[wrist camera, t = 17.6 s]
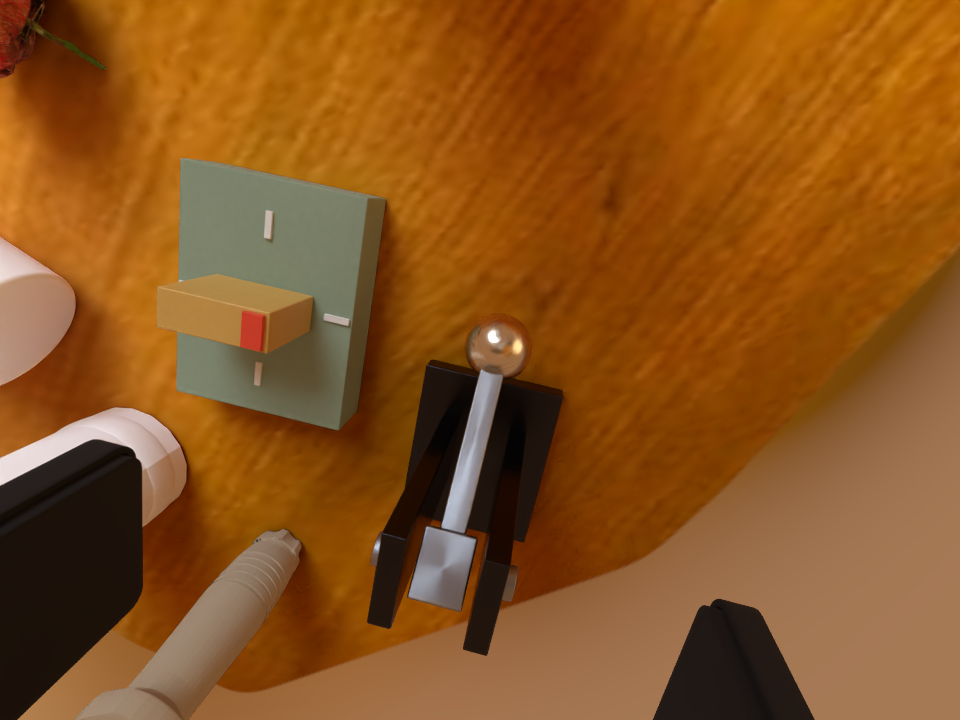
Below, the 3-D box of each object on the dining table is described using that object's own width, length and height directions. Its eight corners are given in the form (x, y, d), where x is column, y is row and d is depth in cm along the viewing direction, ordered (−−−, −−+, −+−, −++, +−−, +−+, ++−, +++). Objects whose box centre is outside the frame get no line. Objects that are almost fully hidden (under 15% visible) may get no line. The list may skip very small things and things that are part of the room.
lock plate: (216, 161, 29) (178, 157, 26) (386, 198, 29) (366, 197, 26) (208, 374, 33) (174, 391, 30) (357, 411, 33) (337, 432, 30)
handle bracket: (430, 358, 31) (352, 458, 19) (563, 389, 31) (569, 513, 18) (405, 501, 34) (323, 665, 22) (525, 531, 34) (508, 718, 21)
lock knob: (215, 309, 29) (152, 328, 24) (216, 273, 28) (152, 286, 24) (310, 331, 28) (264, 356, 24) (313, 295, 28) (267, 313, 23)
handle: (230, 547, 37) (31, 760, 23) (284, 496, 35) (103, 694, 21) (280, 592, 38) (116, 827, 24) (336, 544, 36) (194, 768, 22)
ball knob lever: (474, 322, 27) (473, 295, 24) (534, 336, 27) (542, 311, 24) (403, 587, 23) (392, 595, 20) (473, 605, 23) (473, 617, 20)
